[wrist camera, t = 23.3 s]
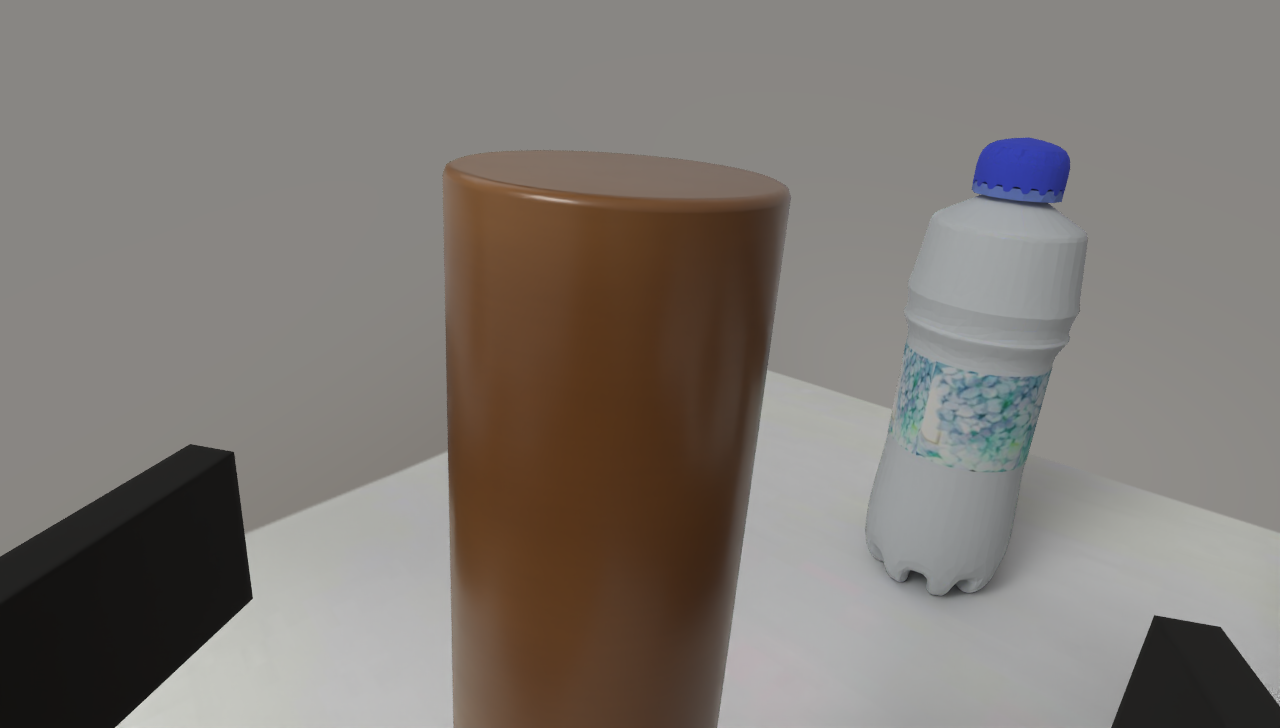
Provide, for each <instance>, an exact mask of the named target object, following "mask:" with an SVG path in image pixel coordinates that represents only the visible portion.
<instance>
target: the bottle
mask: <svg viewBox="0 0 1280 728" xmlns="http://www.w3.org/2000/svg"><path fill="white" fill-rule="evenodd" d="M1069 170H1070V159H1069V156H1068V155H1067V152H1066V151H1065V150H1063V149H1062V148H1061V147H1059V146H1057V145H1054V144H1052V143H1048V142H1045V141H1042V140H1037V139H1033V138H1012V139H1004V140H999V141H995V142H993V143H990V144H989V145H988V146H987V147H985V149H983V151H982V152H981V154H980V156H979V159H978V162H977V166H976V170H975V175H974V180H973V186H972V190H973V191H974V193H978V194H982V195H979V196H976V197H974V198H971V199H969V200H966V201H963V202H960V203H958V204H955V205H952V206H949V207H947V208H944V209H942V210H939V211H937V212H936V213H934V214H933V216H932V217H931V220H930V223H929V225H928V228H927V231H926V234H925V238H924V240H923V243H922V246H921V249H920V253H919V255H918V258H917V261H916V263H915V266H914V269H913V272H912V275H911V277H910V279H909V281H908V304H907V306H906V307H905V309H904V314H905V317H906V321H907V324H908V336H907V340H906V345H905V350H904V355H903V360H902V365H901V369H900V374H899V380H898V384H897V389H896V394H895V399H894V404H893V409H892V413H891V418H890V423H889V429H888V435H887V439H886V443H885V446H884V450H883V453H882V457H881V460H880V464H879V467H878V470H877V474H876V477H875V481H874V484H873V488H872V492H871V496H870V500H869V504H868V511H867V519H866V529H865V532H866V541H867V545H868V548H869V551H870V553H871V554H872V556H873V557H875V558H876V559H878V560H880V561H884V565H885V569H886V572H887V573H888V575H889V576H890V577H891V578H893V579H895V580H896V581H898V582H903V581H905V580H906V579H907V577H908V575H909V572H910V570H913V571H916V572H918V573H921V574H923V575H924V576H925V577H926V578H927V591H928V592H929V593H930V594H932V595H940V596H941V595H944V594H946V593H947V592H948V591H949V590H950V589H951V588H952V587H953V586H954V584H957V587H958V588H959V589H960V590H961V591H963V592H966V593H972V592H975V591H977V590H979V589H981V588H982V587H984V586H985V585H986V584H987V583H988V582H989V580H990V579H991V578H992V577H993V575H994V573H995V571H996V569H997V568H998V566H999V564H1000V562H1001V560H1002V558H1003V556H1004V554H1005V552H1006V549H1007V545H1008V542H1009V539H1010V536H1011V531H1012V526H1013V521H1014V516H1015V510H1016V505H1017V499H1018V494H1019V488H1020V482H1021V477H1022V473H1023V469H1024V465H1025V462H1026V460H1027V456H1028V452H1029V449H1030V445H1031V442H1032V438H1033V434H1034V431H1035V427H1036V424H1037V420H1038V417H1039V413H1040V409H1041V405H1042V402H1043V399H1044V395H1045V391H1046V387H1047V384H1048V381H1049V376H1050V373H1051V370H1052V364H1053V361H1054V359H1055V357H1056V356H1057V354H1058V353H1059V352H1060V351H1061V350H1062V349H1063V348H1064V347H1065V345H1066V344H1067V343H1068V342H1069V340H1070V336H1069V331H1070V328H1071V326H1072V323H1073V322H1074V320H1075V318H1076V317H1077V315H1078V314H1079V312H1080V296H1081V288H1082V280H1083V273H1084V265H1085V257H1086V249H1087V242H1088V237H1087V233H1086V232H1085V231H1084V230H1083V229H1082V228H1080V227H1079V226H1078V225H1076V224H1075V223H1074V222H1072V221H1071V220H1070V219H1068V218H1067V217H1066V216H1064V215H1063V214H1062V213H1060V212H1059V211H1058V210H1056V209H1055V208H1053V207H1052V206H1051V205H1050V204H1048V203H1056V202H1062V198H1063V194H1064V190H1065V187H1066V183H1067V179H1068V175H1069Z"/></svg>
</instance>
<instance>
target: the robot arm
mask: <svg viewBox="0 0 1280 728" xmlns="http://www.w3.org/2000/svg"><path fill="white" fill-rule="evenodd" d="M252 599H253V596H252V589H251V581H250V573H249V565H248V558H247V550H246V542H245V534H244V527H243V519H242V511H241V503H240V495H239V488H238V480H237V472H236V465H235V456H234V452H231V451H225V450H220V449H214V448H208V447H203V446H197V445H192V444H190V445H188V446H186V447H185V448H183V449H181V450H180V451H178V452H176V453H175V454H173V455H171V456H170V457H168V458H166V459H165V460H163V461H161V462H160V463H158V464H156V465H154V466H153V467H151V468H149V469H148V470H146V471H144V472H143V473H141V474H139V475H137V476H136V477H134V478H132V479H131V480H129V481H127V482H126V483H124V484H122V485H121V486H119V487H117V488H116V489H114V490H112V491H111V492H109V493H107V494H105V495H104V496H102V497H100V498H99V499H97V500H95V501H94V502H92V503H90V504H89V505H87V506H85V507H83V508H82V509H80V510H78V511H77V512H75V513H73V514H72V515H70V516H68V517H67V518H65V519H63V520H61V521H60V522H58V523H56V524H55V525H53V526H51V527H50V528H48V529H46V530H45V531H43V532H41V533H40V534H38V535H36V536H34V537H33V538H31V539H29V540H28V541H26V542H24V543H23V544H21V545H19V546H18V547H16V548H14V549H13V550H11V551H9V552H7V553H6V554H4V555H2V556H1V557H0V728H115V727H116V726H117V725H118V724H119V723H120V722H121V721H122V720H123V719H125V718H126V717H127V716H128V715H129V714H130V713H131V712H132V711H133V710H134V709H135V708H136V707H137V706H138V705H140V704H141V703H142V702H143V701H144V700H145V699H146V698H147V697H148V696H149V695H150V694H151V693H152V692H153V691H154V690H156V689H157V688H158V687H159V686H160V685H161V684H162V683H163V682H164V681H165V680H166V679H167V678H168V677H169V676H171V675H172V674H173V673H174V672H175V671H176V670H177V669H178V668H179V667H180V666H181V665H182V664H183V663H184V662H185V661H187V660H188V659H189V658H190V657H191V656H192V655H193V654H194V653H195V652H196V651H197V650H198V649H199V648H200V647H202V646H203V645H204V644H205V643H206V642H207V641H208V640H209V639H210V638H211V637H212V636H213V635H214V634H215V633H216V632H218V631H219V630H220V629H221V628H222V627H223V626H224V625H225V624H226V623H227V622H228V621H229V620H230V619H231V618H233V617H234V616H235V615H236V614H237V613H238V612H239V611H240V610H241V609H242V608H243V607H244V606H245V605H246V604H247V603H249V602H250V601H251V600H252ZM1111 728H1280V706H1279V705H1278V704H1277V702H1276V701H1275V700H1274V698H1273V697H1272V696H1271V694H1270V693H1269V692H1268V690H1267V689H1266V687H1265V686H1264V685H1263V683H1262V682H1261V681H1260V679H1259V678H1258V677H1257V675H1256V674H1255V673H1254V671H1253V670H1252V669H1251V667H1250V666H1249V665H1248V663H1247V662H1246V661H1245V659H1244V658H1243V657H1242V655H1241V654H1240V653H1239V651H1238V650H1237V649H1236V647H1235V646H1234V645H1233V643H1232V642H1231V641H1230V639H1229V638H1228V637H1227V635H1226V634H1225V633H1224V631H1223V630H1222V629H1221V627H1217V626H1211V625H1206V624H1200V623H1194V622H1189V621H1183V620H1178V619H1172V618H1166V617H1161V616H1155V615H1154V618H1153V620H1152V623H1151V625H1150V628H1149V631H1148V633H1147V636H1146V638H1145V641H1144V644H1143V646H1142V649H1141V651H1140V654H1139V657H1138V659H1137V662H1136V665H1135V667H1134V670H1133V672H1132V675H1131V678H1130V680H1129V683H1128V685H1127V688H1126V691H1125V693H1124V696H1123V699H1122V701H1121V704H1120V706H1119V709H1118V712H1117V714H1116V717H1115V719H1114V722H1113V725H1112V727H1111Z"/></svg>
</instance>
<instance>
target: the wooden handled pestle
mask: <svg viewBox="0 0 1280 728" xmlns="http://www.w3.org/2000/svg"><path fill="white" fill-rule="evenodd" d="M790 200H791V197H790V193H789V189H788V187H786V185H784V184H782V183H781V182H779V181H777V180H775V179H773V178H770V177H768V176H765V175H762V174H759V173H755V172H751V171H747V170H743V169H738V168H734V167H728V166H723V165H717V164H711V163H704V162H698V161H690V160H683V159H675V158H664V157H656V156H646V155H634V154H621V153H606V152H605V153H604V152H587V151H553V150H552V151H551V150H550V151H549V150H543V151H541V150H540V151H539V150H533V151H503V152H489V153H480V154H474V155H469V156H464V157H461V158H458V159H455V160H453V161H450V162H449V163H448V164H446V167H445V169H444V171H443V214H444V215H443V216H444V263H445V264H444V265H445V314H446V315H445V316H446V368H447V417H448V470H449V520H450V571H451V622H452V672H453V723H454V728H717V725H718V718H719V711H720V704H721V696H722V689H723V682H724V675H725V668H726V660H727V653H728V646H729V639H730V632H731V624H732V617H733V610H734V603H735V596H736V588H737V581H738V574H739V567H740V560H741V553H742V545H743V538H744V531H745V524H746V517H747V509H748V502H749V495H750V488H751V481H752V473H753V466H754V459H755V452H756V445H757V437H758V430H759V423H760V416H761V409H762V401H763V394H764V387H765V380H766V373H767V365H768V358H769V351H770V344H771V337H772V329H773V322H774V314H775V308H776V301H777V293H778V286H779V279H780V272H781V265H782V257H783V250H784V243H785V236H786V229H787V221H788V214H789V206H790Z"/></svg>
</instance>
